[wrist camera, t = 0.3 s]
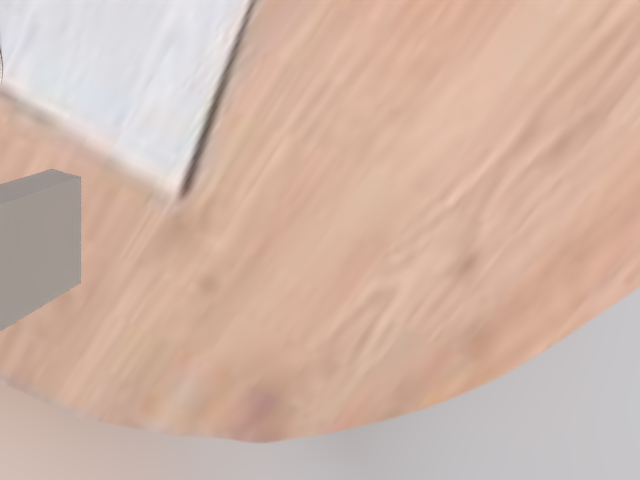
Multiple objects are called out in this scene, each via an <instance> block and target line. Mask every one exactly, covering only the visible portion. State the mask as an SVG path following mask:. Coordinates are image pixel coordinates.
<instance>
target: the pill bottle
mask: <svg viewBox="0 0 640 480" xmlns="http://www.w3.org/2000/svg"><path fill="white" fill-rule="evenodd" d="M2 69H3V67H2V59H1V54H0V85H1V81H2Z"/></svg>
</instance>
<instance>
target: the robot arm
mask: <svg viewBox="0 0 640 480" xmlns="http://www.w3.org/2000/svg"><path fill="white" fill-rule="evenodd" d="M80 283H81V177H79V176H76V175H72V174H68V173H65V172H61V171H58V170H54V169H51V170H47V171H44V172H41V173H37V174H34V175H31V176H27V177H24V178H21V179H17V180H14V181H10V182H7V183H4V184H0V331H2V330H4V329H5V328H7V327H9V326H10V325H12V324H13V323H15V322H17V321H18V320H20V319H22V318H23V317H25V316H27V315H28V314H30V313H32V312H33V311H35V310H37V309H38V308H40V307H42V306H43V305H45V304H47V303H48V302H50V301H51V300H53V299H55V298H56V297H58V296H60V295H61V294H63V293H65V292H66V291H68V290H70V289H71V288H73V287H75V286H76V285H78V284H80Z"/></svg>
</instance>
